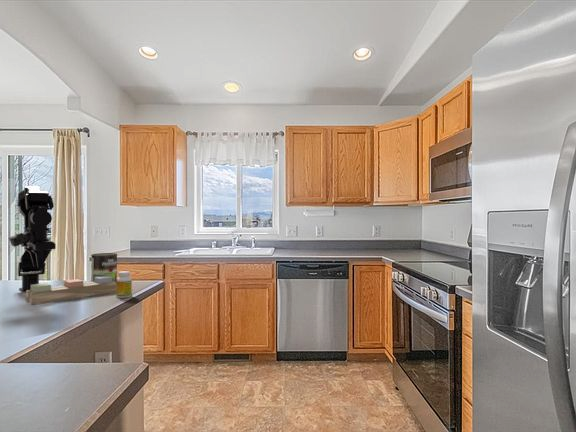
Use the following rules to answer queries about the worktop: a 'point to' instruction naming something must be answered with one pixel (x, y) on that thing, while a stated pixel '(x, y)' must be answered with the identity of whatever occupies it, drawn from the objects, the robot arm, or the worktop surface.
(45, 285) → the sage key
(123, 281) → the supplement bottle
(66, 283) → the terracotta key
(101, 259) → the coffee can
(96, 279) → the slate key
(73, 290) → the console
